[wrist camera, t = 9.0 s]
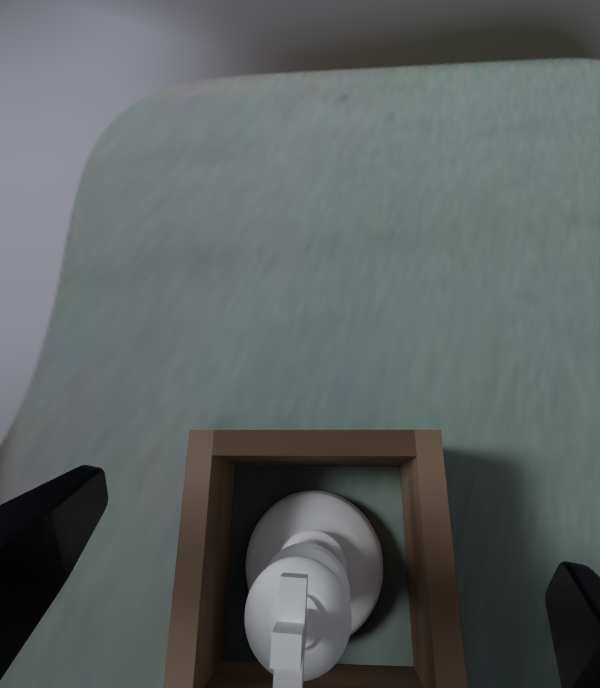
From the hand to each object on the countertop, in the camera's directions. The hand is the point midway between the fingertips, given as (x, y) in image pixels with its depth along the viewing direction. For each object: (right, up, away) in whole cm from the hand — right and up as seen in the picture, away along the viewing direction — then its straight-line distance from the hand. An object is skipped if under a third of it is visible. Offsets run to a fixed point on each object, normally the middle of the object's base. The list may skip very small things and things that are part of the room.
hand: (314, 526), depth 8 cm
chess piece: (0, -4, +7) cm, 8 cm away
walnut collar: (0, -4, +7) cm, 8 cm away
